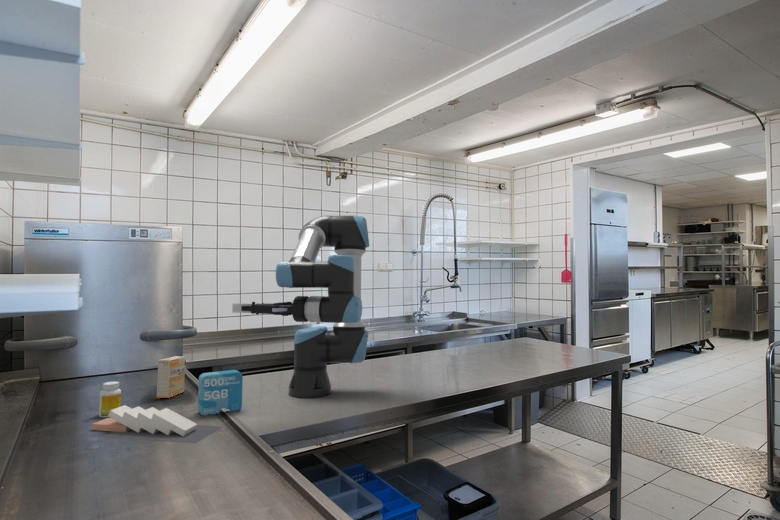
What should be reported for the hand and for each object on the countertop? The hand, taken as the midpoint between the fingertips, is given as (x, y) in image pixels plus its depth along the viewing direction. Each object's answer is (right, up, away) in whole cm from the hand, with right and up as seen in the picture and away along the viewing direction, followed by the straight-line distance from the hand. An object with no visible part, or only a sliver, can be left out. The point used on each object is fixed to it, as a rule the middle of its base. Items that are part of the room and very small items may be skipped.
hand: (233, 307), depth 128 cm
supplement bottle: (-36, -32, -2) cm, 48 cm away
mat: (-12, -31, -16) cm, 37 cm away
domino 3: (-13, -30, -16) cm, 36 cm away
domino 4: (-9, -30, -16) cm, 35 cm away
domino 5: (-5, -30, -17) cm, 35 cm away
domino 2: (-18, -30, -15) cm, 38 cm away
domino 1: (-22, -30, -14) cm, 40 cm away
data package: (-5, -32, +2) cm, 33 cm away
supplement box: (-29, -33, +20) cm, 49 cm away
